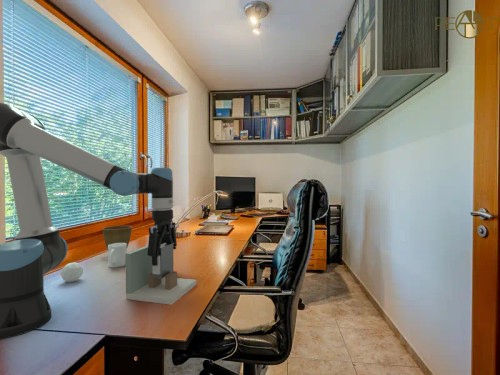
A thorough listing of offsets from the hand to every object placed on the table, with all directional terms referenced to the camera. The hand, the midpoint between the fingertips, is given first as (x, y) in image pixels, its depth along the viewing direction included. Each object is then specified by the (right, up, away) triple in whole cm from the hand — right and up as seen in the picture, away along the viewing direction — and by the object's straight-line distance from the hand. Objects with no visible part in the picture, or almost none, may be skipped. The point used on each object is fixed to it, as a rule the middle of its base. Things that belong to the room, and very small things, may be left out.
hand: (163, 269), depth 99 cm
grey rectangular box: (0, -2, 0) cm, 2 cm away
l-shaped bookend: (0, -8, 0) cm, 8 cm away
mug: (-33, -8, +31) cm, 46 cm away
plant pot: (-42, -8, +51) cm, 67 cm away
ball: (-42, -8, +11) cm, 44 cm away
